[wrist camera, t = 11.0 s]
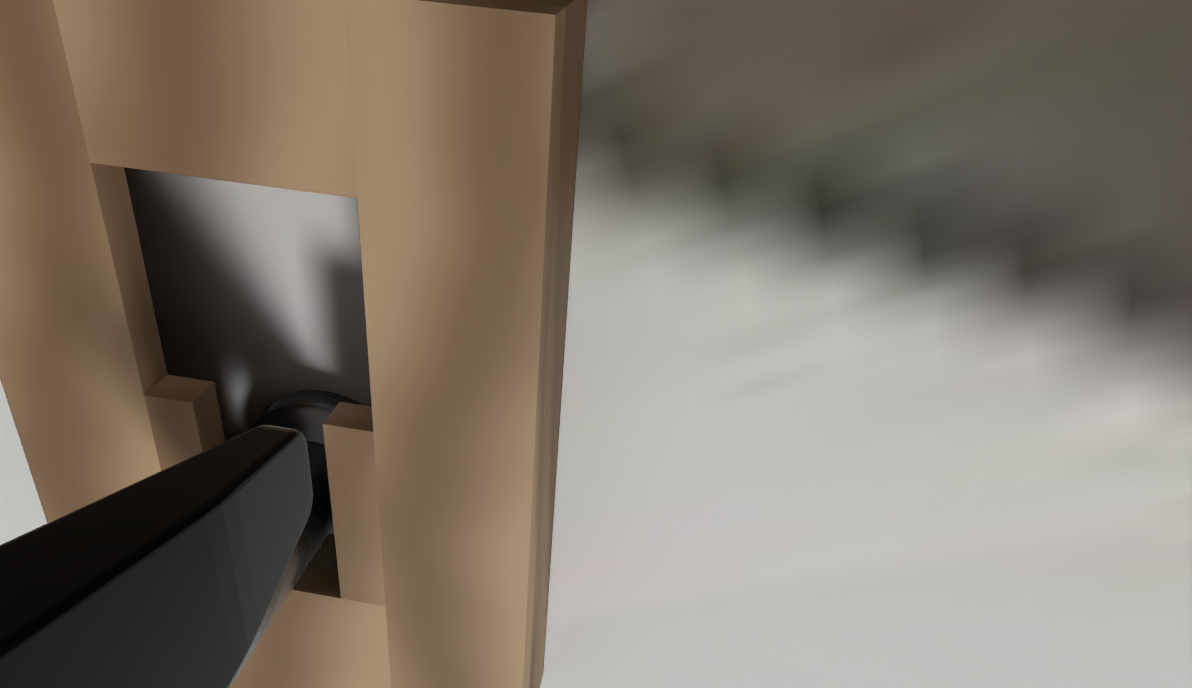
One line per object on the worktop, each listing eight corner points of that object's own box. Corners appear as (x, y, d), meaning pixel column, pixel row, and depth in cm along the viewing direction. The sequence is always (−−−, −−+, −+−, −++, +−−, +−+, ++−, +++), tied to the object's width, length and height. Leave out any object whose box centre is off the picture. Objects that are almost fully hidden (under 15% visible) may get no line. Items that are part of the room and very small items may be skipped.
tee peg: (400, 402, 25) (211, 692, 16) (406, 523, 27) (243, 833, 18) (250, 379, 25) (-13, 648, 16) (269, 499, 27) (46, 791, 19)
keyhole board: (588, -10, 18) (555, 14, 15) (543, 673, 29) (519, 766, 26) (-6, -72, 20) (-144, -61, 17) (164, 603, 31) (100, 683, 28)
